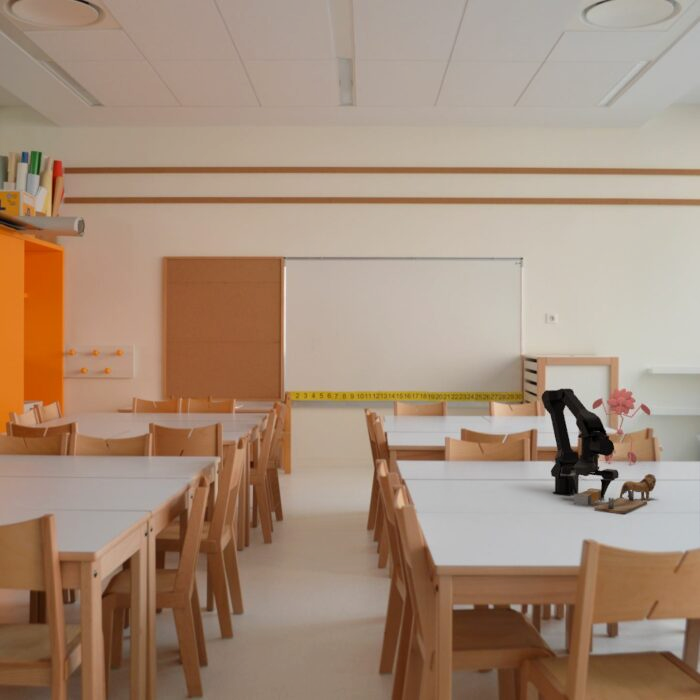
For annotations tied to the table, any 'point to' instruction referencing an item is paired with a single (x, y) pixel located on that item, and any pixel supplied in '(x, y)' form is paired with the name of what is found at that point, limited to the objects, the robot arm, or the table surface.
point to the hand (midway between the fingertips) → (589, 496)
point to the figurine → (621, 403)
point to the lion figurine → (640, 486)
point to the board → (621, 505)
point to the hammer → (588, 497)
